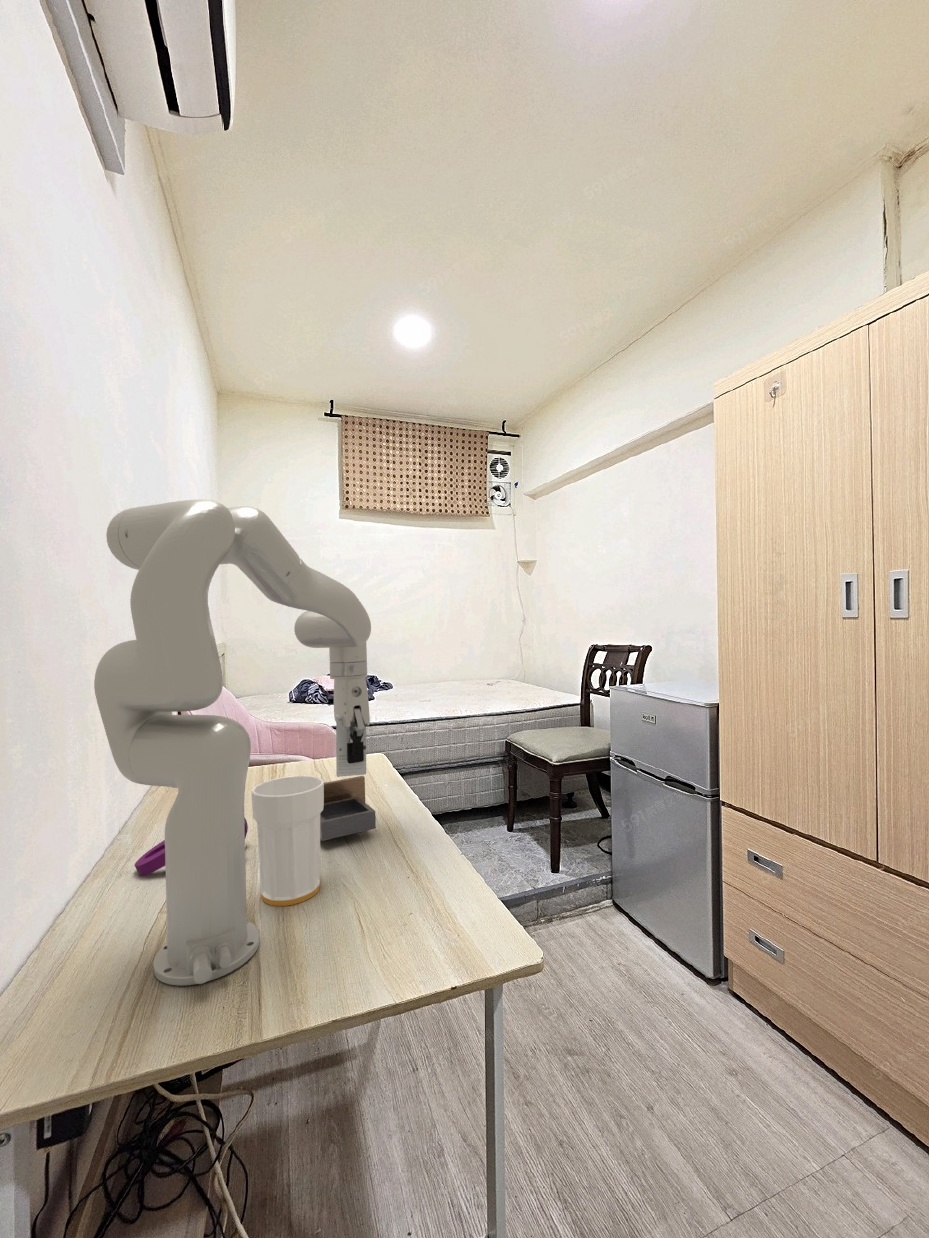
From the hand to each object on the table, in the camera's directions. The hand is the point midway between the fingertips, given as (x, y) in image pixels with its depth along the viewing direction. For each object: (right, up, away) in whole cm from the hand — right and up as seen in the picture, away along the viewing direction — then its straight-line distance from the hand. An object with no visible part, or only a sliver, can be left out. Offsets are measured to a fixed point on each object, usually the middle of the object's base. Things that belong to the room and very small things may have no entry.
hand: (351, 758), depth 105 cm
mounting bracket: (-28, -18, -9) cm, 34 cm away
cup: (-5, -16, -21) cm, 27 cm away
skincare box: (0, -3, 0) cm, 3 cm away
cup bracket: (-3, -17, +3) cm, 17 cm away
